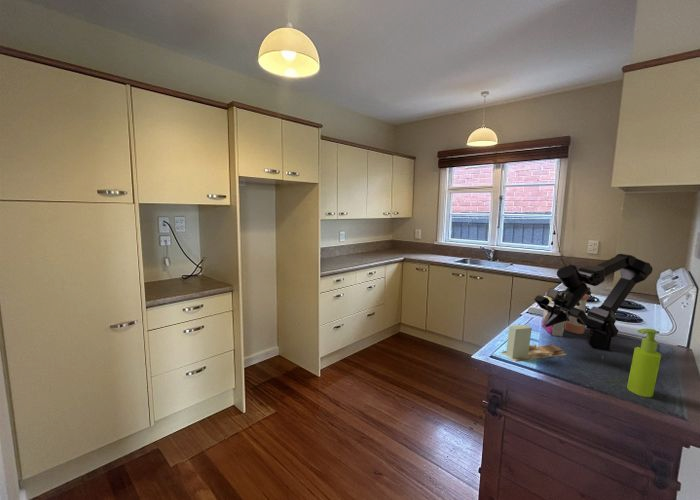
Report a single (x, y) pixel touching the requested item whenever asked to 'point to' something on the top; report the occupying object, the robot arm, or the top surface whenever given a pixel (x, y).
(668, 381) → the top surface
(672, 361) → the top surface
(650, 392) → the soap dispenser
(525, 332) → the pale green block
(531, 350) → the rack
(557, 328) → the candy bar box
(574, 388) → the top surface
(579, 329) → the salt shaker
